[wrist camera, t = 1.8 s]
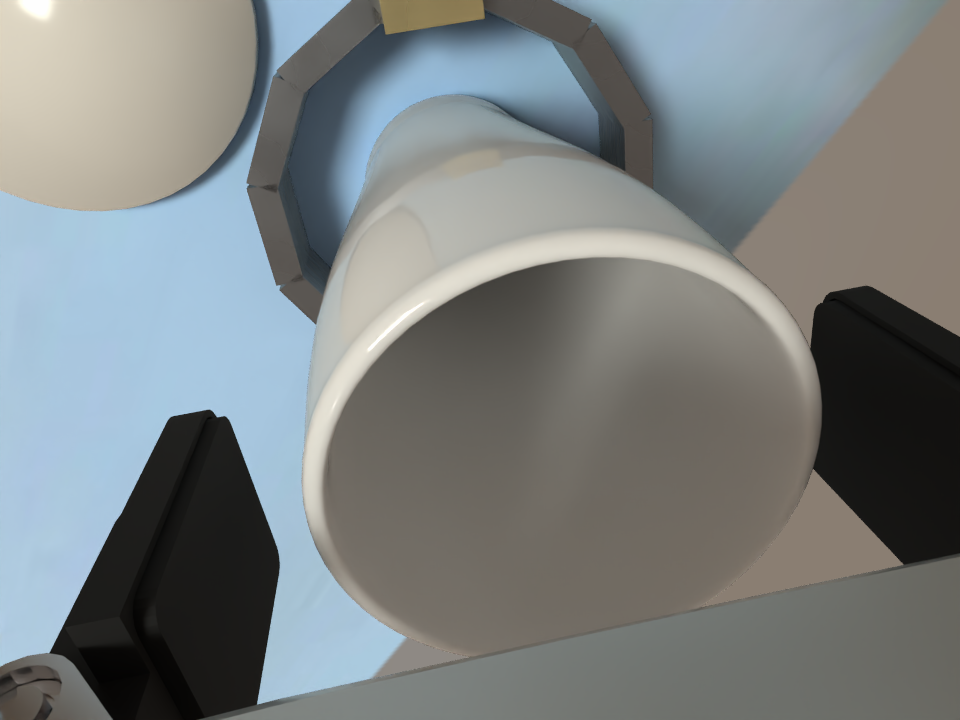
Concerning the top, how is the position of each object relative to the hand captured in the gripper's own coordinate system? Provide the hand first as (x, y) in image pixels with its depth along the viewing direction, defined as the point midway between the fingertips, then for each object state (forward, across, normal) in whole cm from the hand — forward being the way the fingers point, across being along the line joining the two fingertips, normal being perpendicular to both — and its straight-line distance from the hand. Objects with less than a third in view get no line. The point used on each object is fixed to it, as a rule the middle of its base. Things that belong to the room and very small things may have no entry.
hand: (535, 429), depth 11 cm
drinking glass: (+13, 0, -1) cm, 13 cm away
